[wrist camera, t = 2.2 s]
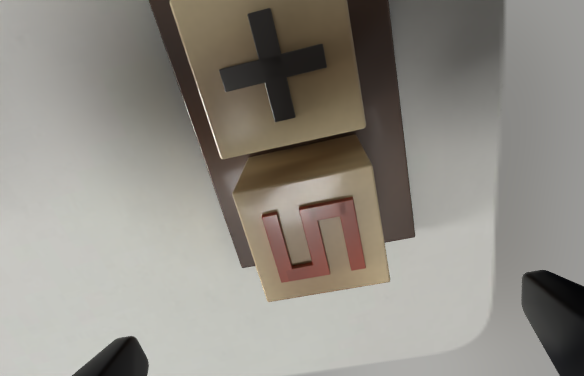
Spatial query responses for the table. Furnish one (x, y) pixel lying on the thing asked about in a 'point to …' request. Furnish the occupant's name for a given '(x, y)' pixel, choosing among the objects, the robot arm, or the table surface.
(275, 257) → the letter s tile
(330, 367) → the table surface
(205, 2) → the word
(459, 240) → the table surface
